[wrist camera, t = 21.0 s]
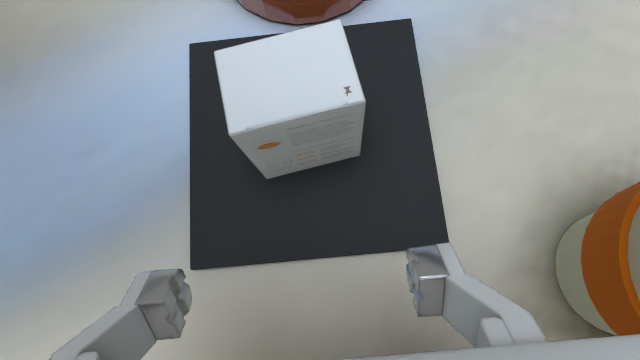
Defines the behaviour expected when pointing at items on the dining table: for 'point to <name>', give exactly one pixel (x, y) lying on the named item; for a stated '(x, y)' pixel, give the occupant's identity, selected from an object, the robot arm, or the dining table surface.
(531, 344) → the robot arm
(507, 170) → the dining table surface
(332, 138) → the small box
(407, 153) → the mat
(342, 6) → the bowl
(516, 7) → the dining table surface
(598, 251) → the reusable coffee cup
